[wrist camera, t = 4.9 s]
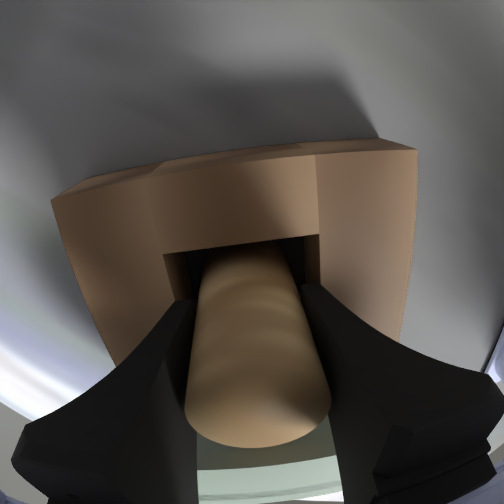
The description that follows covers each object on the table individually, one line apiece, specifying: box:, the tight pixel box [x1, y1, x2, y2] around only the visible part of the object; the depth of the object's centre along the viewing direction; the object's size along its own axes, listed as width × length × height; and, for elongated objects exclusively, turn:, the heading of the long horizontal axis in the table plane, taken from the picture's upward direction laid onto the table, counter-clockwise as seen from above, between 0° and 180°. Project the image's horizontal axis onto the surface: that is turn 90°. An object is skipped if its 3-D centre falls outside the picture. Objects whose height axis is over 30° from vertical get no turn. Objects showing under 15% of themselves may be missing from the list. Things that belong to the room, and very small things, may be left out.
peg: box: [184, 240, 332, 448], centre depth 10 cm, size 4×4×7 cm
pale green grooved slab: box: [197, 415, 342, 504], centre depth 13 cm, size 12×4×8 cm, turn 97°
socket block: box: [51, 138, 418, 367], centre depth 13 cm, size 12×12×3 cm
